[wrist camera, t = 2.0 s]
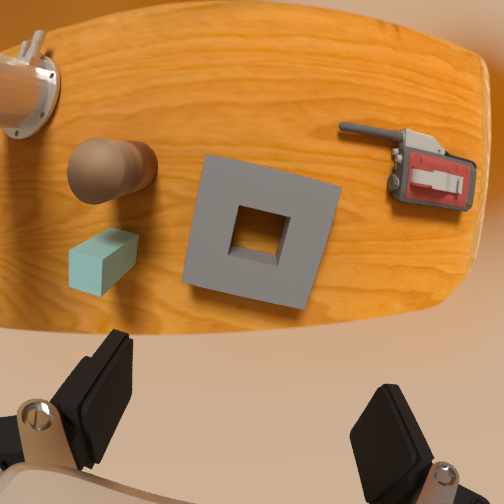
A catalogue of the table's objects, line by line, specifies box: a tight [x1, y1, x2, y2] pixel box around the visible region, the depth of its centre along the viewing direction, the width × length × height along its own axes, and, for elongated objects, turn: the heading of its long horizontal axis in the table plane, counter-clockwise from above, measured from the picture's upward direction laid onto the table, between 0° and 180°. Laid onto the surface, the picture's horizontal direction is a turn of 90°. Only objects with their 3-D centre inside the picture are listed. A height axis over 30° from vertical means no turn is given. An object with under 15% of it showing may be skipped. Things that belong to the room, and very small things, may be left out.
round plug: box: [67, 138, 158, 205], centre depth 29 cm, size 6×6×10 cm
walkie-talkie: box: [339, 122, 477, 212], centre depth 31 cm, size 9×4×20 cm
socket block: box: [182, 154, 342, 310], centre depth 34 cm, size 14×14×4 cm
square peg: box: [69, 227, 139, 297], centre depth 32 cm, size 4×4×10 cm
